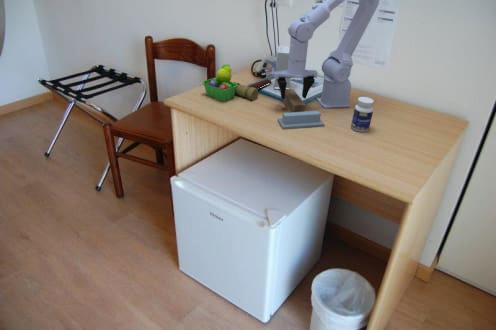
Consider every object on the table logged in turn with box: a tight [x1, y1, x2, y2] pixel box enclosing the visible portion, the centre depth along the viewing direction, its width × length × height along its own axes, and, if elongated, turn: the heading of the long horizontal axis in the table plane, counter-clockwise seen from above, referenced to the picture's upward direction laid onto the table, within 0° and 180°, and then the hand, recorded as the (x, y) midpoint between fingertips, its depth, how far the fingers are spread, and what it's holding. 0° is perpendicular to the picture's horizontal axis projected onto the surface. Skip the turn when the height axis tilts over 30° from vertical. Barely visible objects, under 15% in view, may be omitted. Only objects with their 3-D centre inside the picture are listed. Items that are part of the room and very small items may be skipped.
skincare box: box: [273, 45, 292, 89], centre depth 154 cm, size 8×6×15 cm
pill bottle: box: [350, 96, 374, 133], centre depth 127 cm, size 6×6×10 cm
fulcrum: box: [277, 110, 326, 130], centre depth 130 cm, size 14×6×4 cm, turn 102°
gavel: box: [232, 78, 272, 101], centre depth 154 cm, size 21×5×10 cm
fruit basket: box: [202, 63, 238, 103], centre depth 145 cm, size 11×9×11 cm
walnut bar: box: [282, 88, 307, 113], centre depth 140 cm, size 4×14×4 cm, turn 12°
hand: (293, 97), depth 139 cm, fingers open, 7 cm apart
